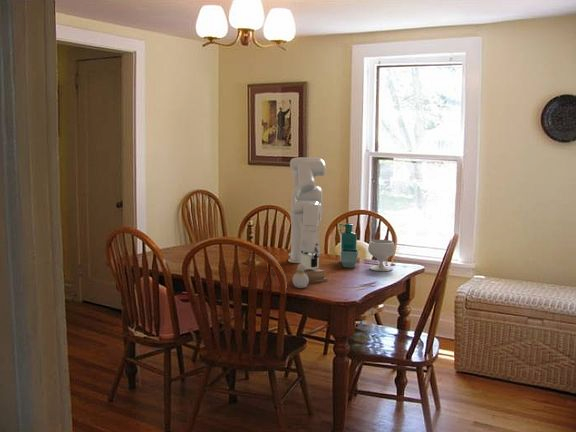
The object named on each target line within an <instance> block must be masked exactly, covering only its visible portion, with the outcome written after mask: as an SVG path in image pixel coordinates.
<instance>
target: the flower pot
mask: <svg viewBox="0 0 576 432" xmlns="http://www.w3.org/2000/svg"><path fill="white" fill-rule="evenodd" d="M358 256H359V249H357V250H356V249H342V250H341V261H342V263H341V264H342V266H343V268H349V269H350V268H354V267H355V266H356V263H357V260H358ZM341 261H340V262H341Z"/></svg>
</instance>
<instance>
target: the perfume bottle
mask: <svg viewBox="0 0 576 432" xmlns="http://www.w3.org/2000/svg"><path fill="white" fill-rule="evenodd" d="M296 269H298V271H297V273H296V274H295V273H294V274H293V276H292V277H293V279H291V281H292V284H293V286H294V287H296V288H297V289H304V288H306V287H307V286H308V285H309V284H308V282H309V278H308V276H307V274H305V273H304V270H305V265H304V264H302V263H301V262H300V263H298V264H297V268H296Z"/></svg>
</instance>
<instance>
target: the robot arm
mask: <svg viewBox="0 0 576 432" xmlns="http://www.w3.org/2000/svg"><path fill="white" fill-rule="evenodd" d="M289 166H290V167H289V168H290V171H291V174H292V176H293V191H292V192H291V196H290V209H289V210H290V211H289V215H290V222H291V224H290V227H291V228H290V229H291V234H290V235H291V236H290V237H291V241H290V246H291V247H290V250H291V251H290V252H288V256H290V257H289V258H288V259H287V260H288V262H289V263H292V264H300V262H301V254H310V253H311V255H312V259H311V267H317V259H318V257H319V258H320V255H321V254H322V252H321V249H320V247H321V245H320V233H319V225H320V223H319V222H321V220H322V215H323V189H322V187H320V186H317V185H316V178H315V177H324V176H325V175H326V172H327V165H326V162H325V160H323V158H321V157H294V158H291V160H290V161H289ZM314 254H315V255H314Z"/></svg>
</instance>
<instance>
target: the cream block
mask: <svg viewBox="0 0 576 432" xmlns="http://www.w3.org/2000/svg"><path fill="white" fill-rule="evenodd" d="M314 255H315V254H314ZM311 259H312V255H311V253H309V254H301V263H302V264H304V265H305V268H307V269H312V268H317V269H320V265H319V263H320V256H319V257H318V259H317V267H311Z"/></svg>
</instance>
